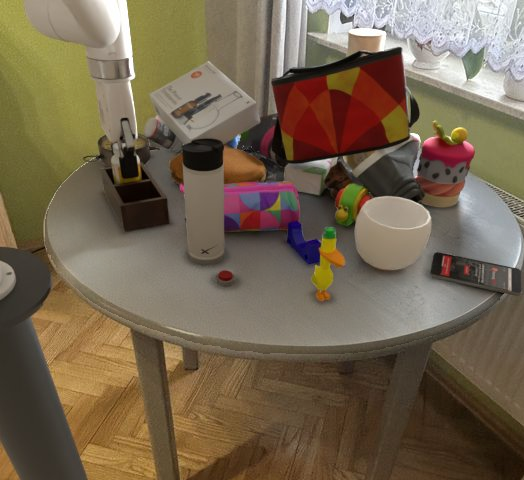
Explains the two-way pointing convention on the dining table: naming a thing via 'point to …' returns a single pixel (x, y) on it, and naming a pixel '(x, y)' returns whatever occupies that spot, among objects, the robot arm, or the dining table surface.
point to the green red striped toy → (350, 203)
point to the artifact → (337, 179)
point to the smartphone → (476, 273)
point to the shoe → (268, 145)
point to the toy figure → (327, 263)
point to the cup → (391, 232)
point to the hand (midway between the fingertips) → (126, 169)
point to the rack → (136, 201)
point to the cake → (444, 166)
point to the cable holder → (303, 244)
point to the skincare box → (205, 106)
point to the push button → (225, 278)
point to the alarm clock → (140, 145)
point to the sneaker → (392, 171)
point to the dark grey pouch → (256, 131)
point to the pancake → (228, 167)
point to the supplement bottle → (116, 167)
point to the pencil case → (259, 206)
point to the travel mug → (204, 199)
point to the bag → (343, 107)
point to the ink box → (309, 175)
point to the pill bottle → (162, 135)
